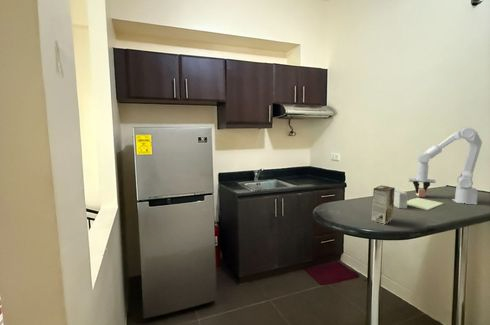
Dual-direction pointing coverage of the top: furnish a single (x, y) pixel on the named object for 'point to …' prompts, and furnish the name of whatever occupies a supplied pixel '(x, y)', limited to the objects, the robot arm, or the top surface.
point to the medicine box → (400, 199)
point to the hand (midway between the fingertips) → (420, 193)
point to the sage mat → (423, 203)
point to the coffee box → (383, 204)
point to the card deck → (421, 192)
